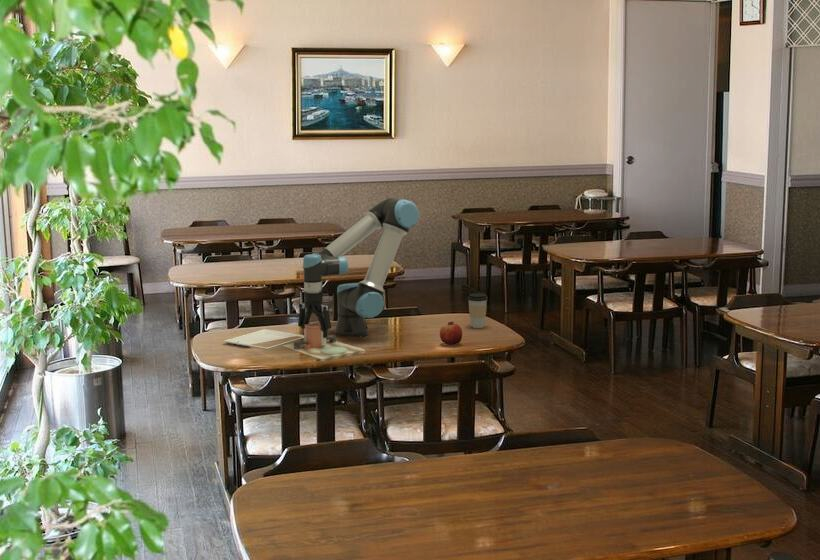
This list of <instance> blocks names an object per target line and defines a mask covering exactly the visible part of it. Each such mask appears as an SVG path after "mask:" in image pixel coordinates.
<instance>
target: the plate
mask: <svg viewBox="0 0 820 560" xmlns="http://www.w3.org/2000/svg"><path fill="white" fill-rule="evenodd" d="M293 337H298V338H294V339H290V340H288V341H285V342H281V343H278V344H275V345H271V346H268V347H265V346H260V345H255V344H261V343H266V342H271V341H272V342H273V341H277V340H282V339H287V338H293ZM303 339H304V335H303V334H299V333H292V332H286V331H280V330H275V329H274V330H273V329H267V328H263V329H260V330H257V331H254V332H253V331H252V332H250V333H246V334H243V335H240V336H239V335H238V336H236V337H231V338H229V339H225V340H223V343H227V344H231V345H234V344H236V346H240V345H241V346H242V347H246V346H247V348H250V347H251V348H252V347H253V348H258V349H264V350H269V349H272V348H276V347H279V346H283V345H287V344H290V343H292V342H297V341H300V340H303ZM238 341H239V342H238ZM237 342H238V343H237ZM241 346H240V347H241Z"/></svg>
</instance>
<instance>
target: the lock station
mask: <svg viewBox="0 0 820 560" xmlns="http://www.w3.org/2000/svg"><path fill="white" fill-rule="evenodd" d="M327 335H328V336H327V338H326V345H325V346H322V347H314V348H309V349H305V348H304V345H305V344H307V341H304V339H301V340H296V341H293V343H287V344H283V345H282V347H283V348H284V347H285V348H287V349H289V350H293V351H296V352H298V353H302V354H305V355H308V356H310V357H313V358H316V361H317V362H320V363H323V362H328V361H333V360H337V359H344V358H347V357H352V356H355V355H361V354H365V353H366V351H367V350H366V349H363V348H361V347H358V346H354V345H351V344H348V343H344V342H342V341H339V340H337V338H336V337H337V336H336V335H333V334H330V335H329V334H327ZM326 347H344V348H347V352H346V353H343V354H335V355H329V354H323V353H321V349H323V348H326Z"/></svg>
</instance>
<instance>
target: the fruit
mask: <svg viewBox="0 0 820 560" xmlns="http://www.w3.org/2000/svg"><path fill="white" fill-rule="evenodd" d="M439 337H440V340H441V341H442V342H443V343H444V344H446V345H451V346H452V345H453V346H455V345H458V344H459V343H461V342H462V340H463V329H462V327H461V326H460V325H459V324H457V323H455V322H454V321H448V322H447V324H444V325H442V327H440V330H439Z"/></svg>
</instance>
